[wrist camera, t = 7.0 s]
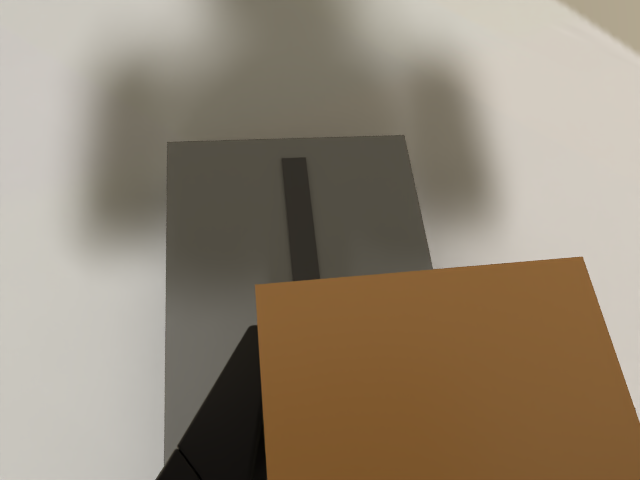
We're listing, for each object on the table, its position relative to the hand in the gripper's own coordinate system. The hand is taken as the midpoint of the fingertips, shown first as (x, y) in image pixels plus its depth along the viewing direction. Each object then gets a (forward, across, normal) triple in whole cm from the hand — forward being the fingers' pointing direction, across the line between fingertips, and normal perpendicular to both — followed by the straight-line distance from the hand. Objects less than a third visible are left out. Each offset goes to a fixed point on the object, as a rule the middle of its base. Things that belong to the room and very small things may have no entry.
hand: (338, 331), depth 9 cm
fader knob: (+2, 0, +4) cm, 5 cm away
